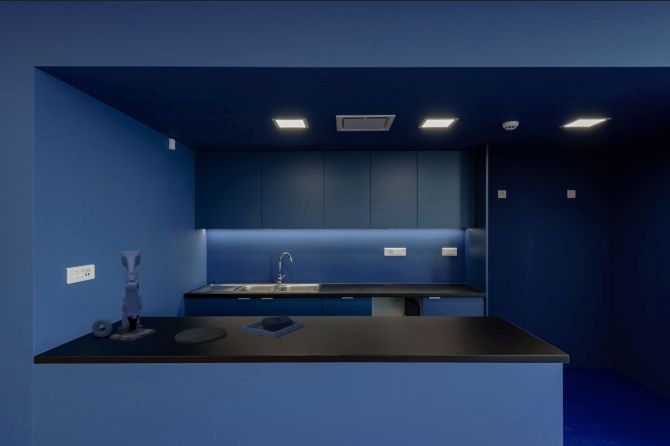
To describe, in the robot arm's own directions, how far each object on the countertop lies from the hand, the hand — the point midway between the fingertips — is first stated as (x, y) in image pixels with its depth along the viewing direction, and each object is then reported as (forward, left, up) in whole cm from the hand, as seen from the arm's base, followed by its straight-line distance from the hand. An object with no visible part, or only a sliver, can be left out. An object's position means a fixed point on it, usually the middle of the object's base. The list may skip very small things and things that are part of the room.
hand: (133, 329), depth 200 cm
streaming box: (+62, +45, -3) cm, 76 cm away
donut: (-11, -10, -3) cm, 15 cm away
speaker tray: (+60, +43, -3) cm, 74 cm away
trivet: (+36, +15, -3) cm, 39 cm away
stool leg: (-2, -1, -1) cm, 3 cm away
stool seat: (+2, -1, -3) cm, 3 cm away
